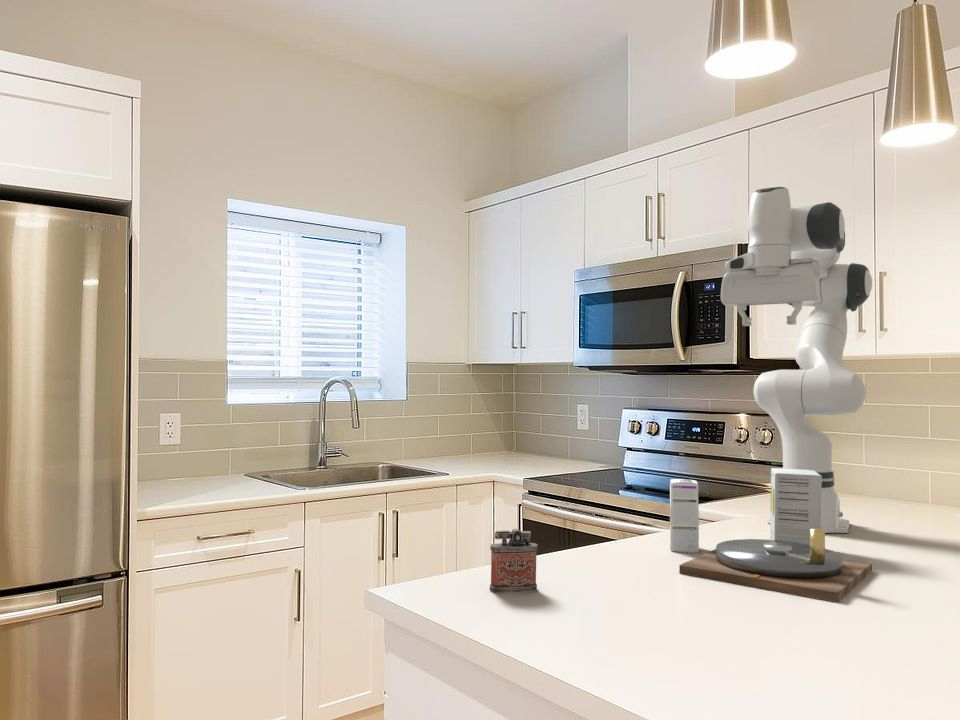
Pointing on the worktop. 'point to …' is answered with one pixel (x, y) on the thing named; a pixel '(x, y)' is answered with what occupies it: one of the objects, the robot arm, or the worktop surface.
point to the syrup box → (684, 516)
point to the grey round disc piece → (781, 557)
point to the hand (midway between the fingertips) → (768, 325)
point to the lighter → (513, 563)
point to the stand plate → (781, 578)
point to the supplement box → (795, 504)
